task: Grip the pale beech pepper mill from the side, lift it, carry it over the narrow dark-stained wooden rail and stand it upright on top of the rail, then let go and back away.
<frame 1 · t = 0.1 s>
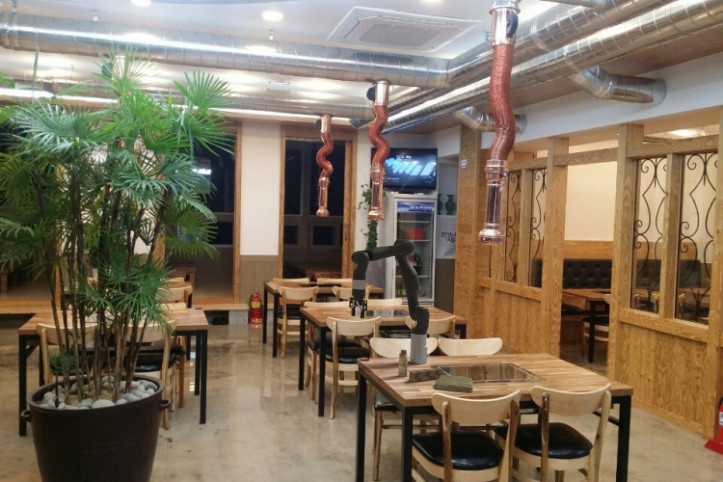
hand: (357, 317, 347), 29 cm above the table, tool pointing down, fingers open, 8 cm apart
pepper mill: (402, 376, 339), on the table
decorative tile: (453, 387, 324), on the table
rail: (425, 379, 334), on the table
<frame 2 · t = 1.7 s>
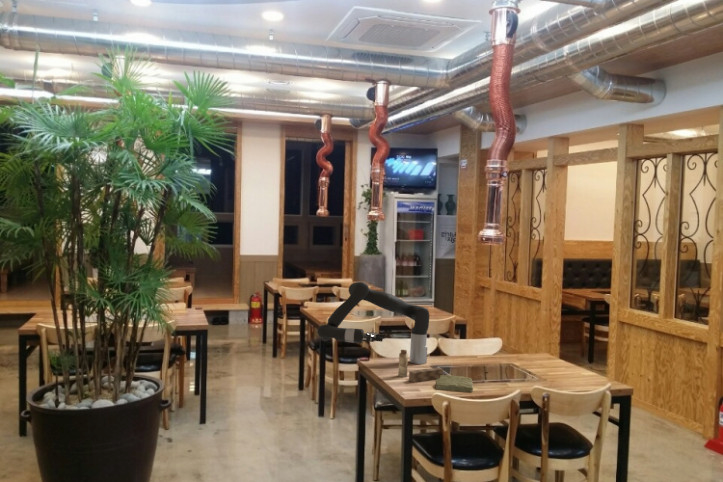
hand: (383, 338, 340), 20 cm above the table, tool horizontal, fingers open, 8 cm apart
nothing on the table moved.
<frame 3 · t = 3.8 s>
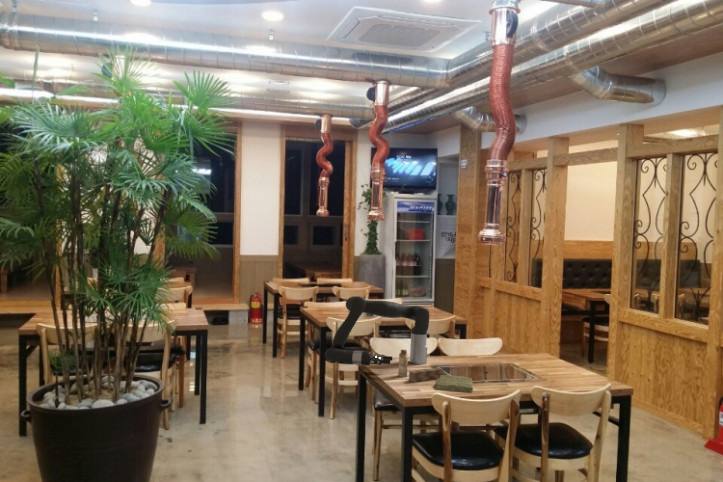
hand: (391, 360, 340), 8 cm above the table, tool horizontal, fingers open, 8 cm apart
nothing on the table moved.
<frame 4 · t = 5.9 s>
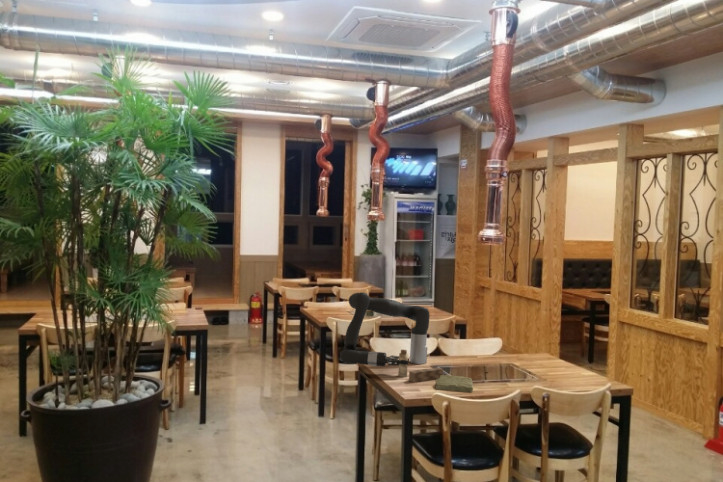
hand: (408, 361, 338), 8 cm above the table, tool horizontal, fingers closed on pepper mill, 4 cm apart
pepper mill: (402, 376, 339), on the table, touching gripper
everything else where it was.
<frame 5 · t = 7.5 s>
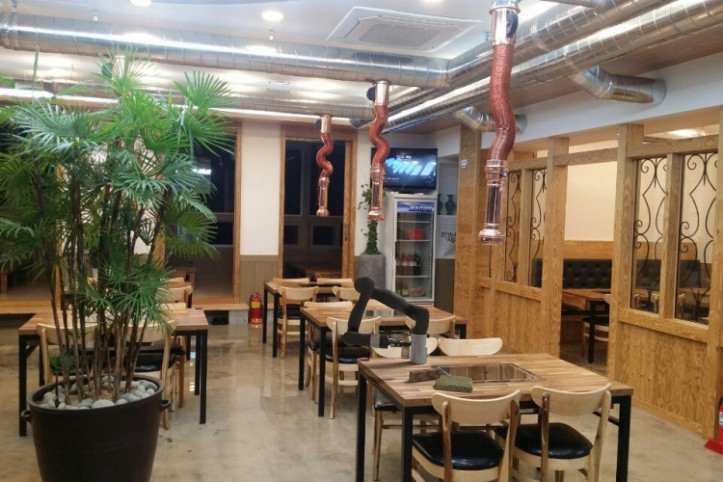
hand: (410, 343, 338), 18 cm above the table, tool horizontal, fingers closed on pepper mill, 4 cm apart
pepper mill: (405, 358, 338), point 10 cm above the table, touching gripper
everything else where it was.
when the fingers open (14 cm above the table, at t = 9.4 s): pepper mill drops 1 cm, resting on rail.
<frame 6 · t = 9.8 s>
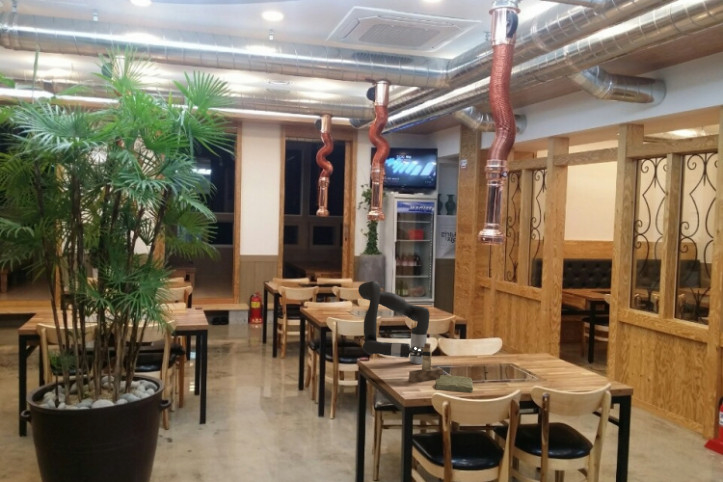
hand: (430, 352, 333), 15 cm above the table, tool horizontal, fingers open, 8 cm apart
pepper mill: (426, 369, 334), point 5 cm above the table, touching rail
everything else where it was.
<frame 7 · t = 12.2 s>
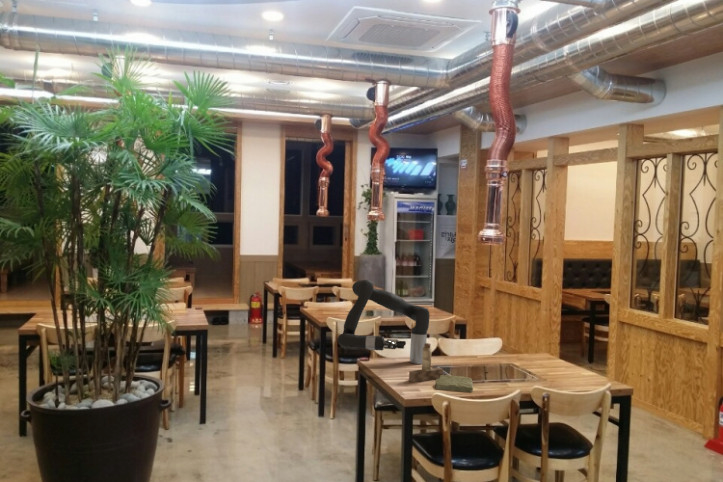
hand: (404, 344, 338), 17 cm above the table, tool horizontal, fingers open, 8 cm apart
nothing on the table moved.
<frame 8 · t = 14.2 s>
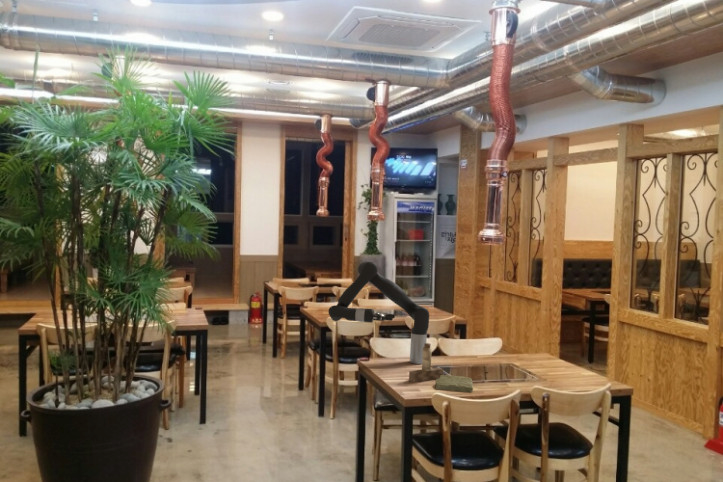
hand: (393, 317, 347), 30 cm above the table, tool horizontal, fingers open, 8 cm apart
nothing on the table moved.
at the end: pepper mill inside the target area on the rail (0.1 cm from its centre), point 5.0 cm above the rail's base; pepper mill tilted 0°; the gripper is holding nothing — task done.
